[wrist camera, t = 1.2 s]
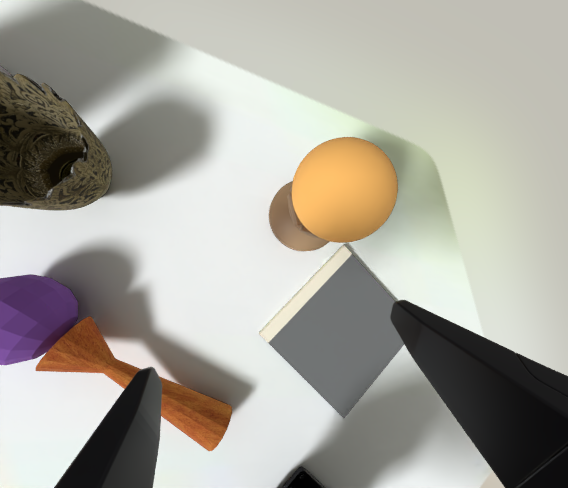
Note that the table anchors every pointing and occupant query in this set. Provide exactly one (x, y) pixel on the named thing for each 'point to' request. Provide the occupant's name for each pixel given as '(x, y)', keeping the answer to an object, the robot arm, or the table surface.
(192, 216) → the table surface
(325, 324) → the mat
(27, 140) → the cup
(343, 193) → the rubber ball
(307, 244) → the ball tee
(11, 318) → the kendama
